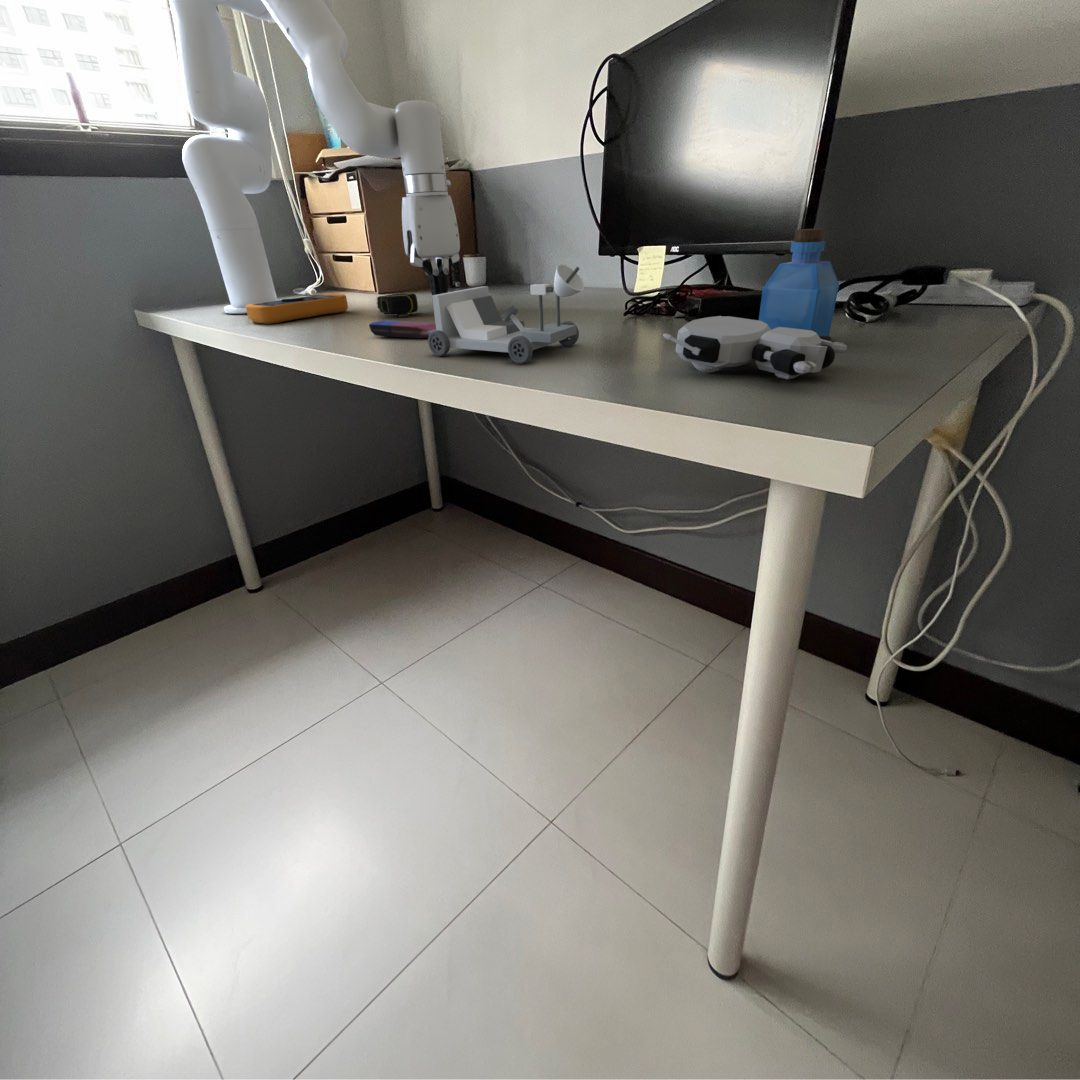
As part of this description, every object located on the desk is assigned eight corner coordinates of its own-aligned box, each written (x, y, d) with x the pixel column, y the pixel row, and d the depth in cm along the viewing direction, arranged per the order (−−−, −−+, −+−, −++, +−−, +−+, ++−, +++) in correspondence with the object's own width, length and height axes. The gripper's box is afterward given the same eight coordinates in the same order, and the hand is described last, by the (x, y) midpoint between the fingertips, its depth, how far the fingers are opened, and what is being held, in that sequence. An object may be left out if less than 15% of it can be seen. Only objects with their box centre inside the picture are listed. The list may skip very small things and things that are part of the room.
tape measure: (414, 312, 110) (411, 291, 108) (423, 316, 104) (419, 294, 103) (379, 315, 108) (375, 294, 106) (385, 320, 102) (381, 297, 100)
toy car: (597, 261, 67) (545, 269, 59) (597, 347, 72) (549, 366, 63) (477, 262, 76) (417, 270, 68) (484, 339, 81) (429, 355, 72)
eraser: (445, 334, 86) (444, 322, 85) (430, 339, 82) (429, 326, 82) (383, 331, 90) (382, 319, 89) (367, 335, 86) (365, 323, 86)
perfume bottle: (755, 343, 69) (770, 231, 63) (778, 335, 73) (794, 228, 67) (806, 349, 65) (828, 229, 59) (828, 340, 69) (850, 227, 63)
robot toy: (845, 375, 57) (707, 350, 66) (858, 328, 55) (714, 308, 63) (803, 404, 50) (653, 372, 58) (817, 351, 47) (658, 325, 55)
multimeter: (245, 322, 108) (239, 303, 106) (328, 309, 120) (324, 292, 118) (267, 325, 103) (262, 305, 101) (352, 311, 115) (348, 293, 113)
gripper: (446, 188, 109) (458, 292, 118) (379, 189, 100) (397, 301, 109) (471, 185, 105) (481, 293, 114) (402, 186, 96) (419, 303, 105)
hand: (440, 297), depth 111 cm, fingers closed
